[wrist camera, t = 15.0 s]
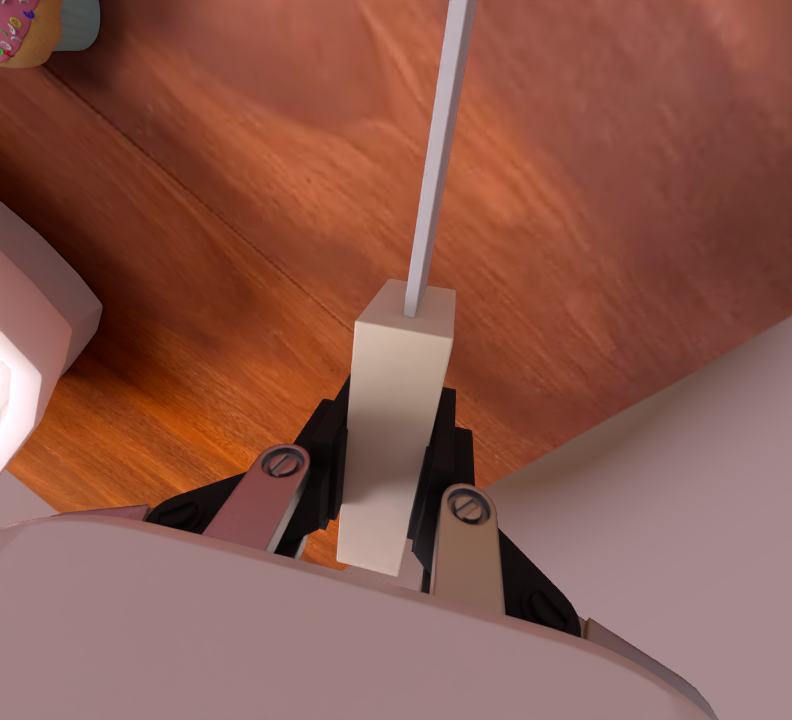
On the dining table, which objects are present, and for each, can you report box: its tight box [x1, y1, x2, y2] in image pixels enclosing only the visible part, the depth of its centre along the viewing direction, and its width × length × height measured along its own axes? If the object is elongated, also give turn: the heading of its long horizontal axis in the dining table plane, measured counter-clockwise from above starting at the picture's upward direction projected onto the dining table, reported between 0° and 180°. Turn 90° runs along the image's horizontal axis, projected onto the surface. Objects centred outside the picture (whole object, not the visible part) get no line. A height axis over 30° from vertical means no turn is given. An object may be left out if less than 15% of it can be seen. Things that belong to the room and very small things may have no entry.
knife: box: [337, 0, 477, 576], centre depth 9 cm, size 19×2×4 cm, turn 172°
